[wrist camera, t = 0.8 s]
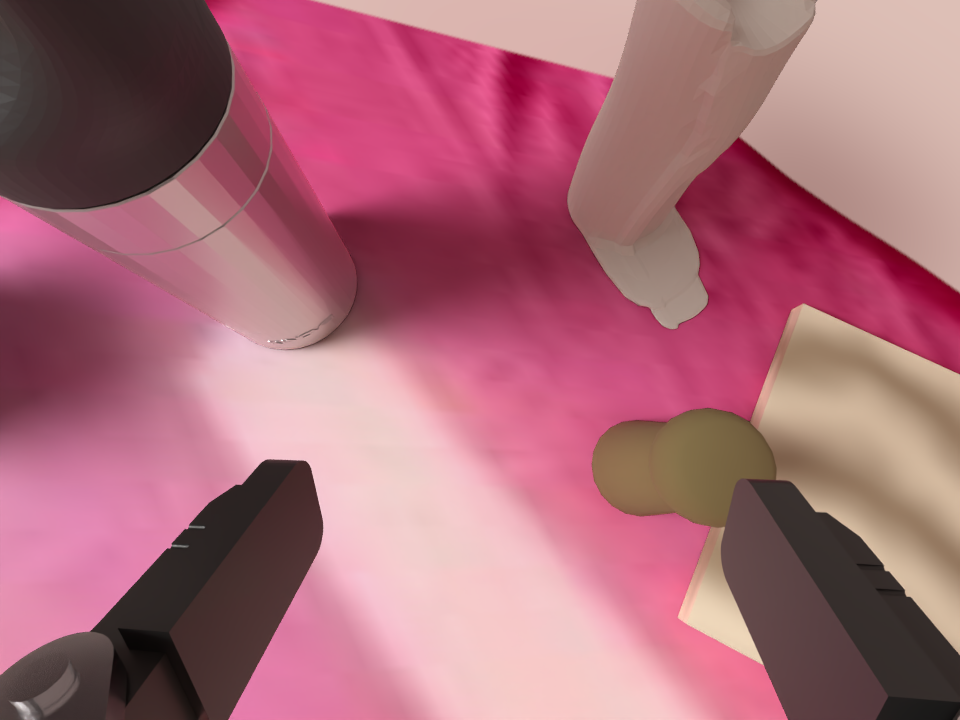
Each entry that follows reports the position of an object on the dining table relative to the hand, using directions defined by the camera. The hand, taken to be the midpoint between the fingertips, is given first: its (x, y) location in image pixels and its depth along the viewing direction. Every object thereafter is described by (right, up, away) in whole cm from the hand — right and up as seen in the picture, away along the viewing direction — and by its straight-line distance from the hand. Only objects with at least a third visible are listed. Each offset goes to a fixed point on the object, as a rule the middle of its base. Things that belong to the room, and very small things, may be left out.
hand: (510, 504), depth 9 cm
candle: (+11, +11, +25) cm, 30 cm away
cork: (+10, -4, +21) cm, 24 cm away
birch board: (+24, -7, +20) cm, 33 cm away
